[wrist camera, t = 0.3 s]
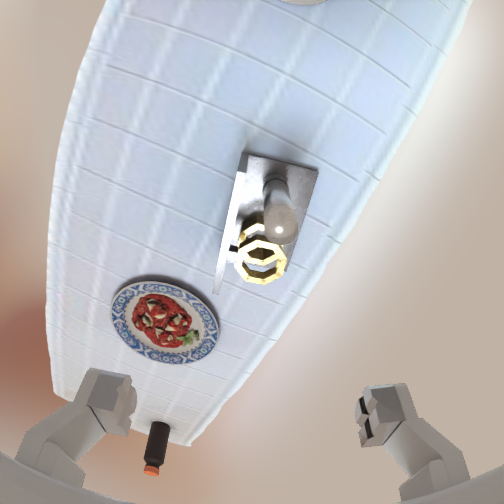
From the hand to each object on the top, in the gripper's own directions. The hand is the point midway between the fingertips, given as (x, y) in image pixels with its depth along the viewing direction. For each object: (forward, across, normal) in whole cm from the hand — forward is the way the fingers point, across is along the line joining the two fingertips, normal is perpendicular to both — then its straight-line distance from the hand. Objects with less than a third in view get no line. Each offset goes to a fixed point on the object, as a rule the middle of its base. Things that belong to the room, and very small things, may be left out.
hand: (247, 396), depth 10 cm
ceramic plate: (+46, +19, +40) cm, 64 cm away
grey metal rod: (+44, -3, +7) cm, 45 cm away
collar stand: (+46, -2, +13) cm, 47 cm away
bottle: (+46, +28, +94) cm, 108 cm away
